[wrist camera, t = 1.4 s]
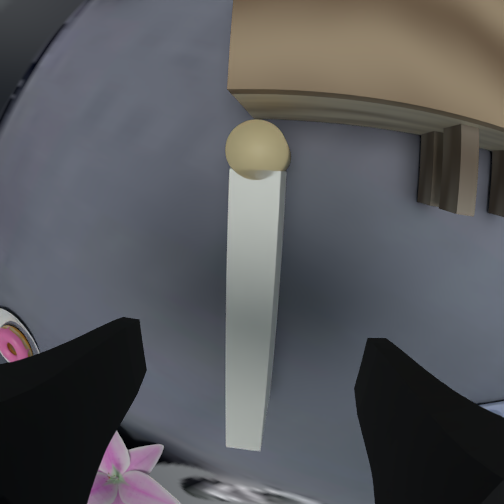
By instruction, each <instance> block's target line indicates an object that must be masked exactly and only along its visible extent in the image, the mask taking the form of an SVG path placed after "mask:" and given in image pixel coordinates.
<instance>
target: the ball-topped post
mask: <svg viewBox="0 0 504 504" xmlns="http://www.w3.org/2000/svg"><path fill="white" fill-rule="evenodd" d="M225 153H226V158H227V161H228V163H229V165H230V167H231V168H232V169H230V171H229V200H228V233H227V277H226V447H231V448H238V449H245V450H253V451H260V450H261V444H262V439H263V433H264V427H265V422H266V416H267V410H268V404H269V398H270V392H271V382H272V371H273V360H274V349H275V338H276V326H277V314H278V301H279V288H280V274H281V260H282V245H283V230H284V213H285V196H286V177H287V171H286V169H287V168H288V166H289V164H290V161H291V152H290V149H289V147H288V144H287V142H286V140H285V138H284V135H283V134H282V132H281V131H280V130H279V129H278V128H277V127H276V126H275V125H273V124H272V123H270V122H267V121H264V120H258V119H256V120H249V121H245V122H243V123H241V124H239V125H238V126H237V127H235V128H234V130H233V131H232V132H231V133H230V135H229V137H228V139H227V142H226V148H225Z"/></svg>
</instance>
